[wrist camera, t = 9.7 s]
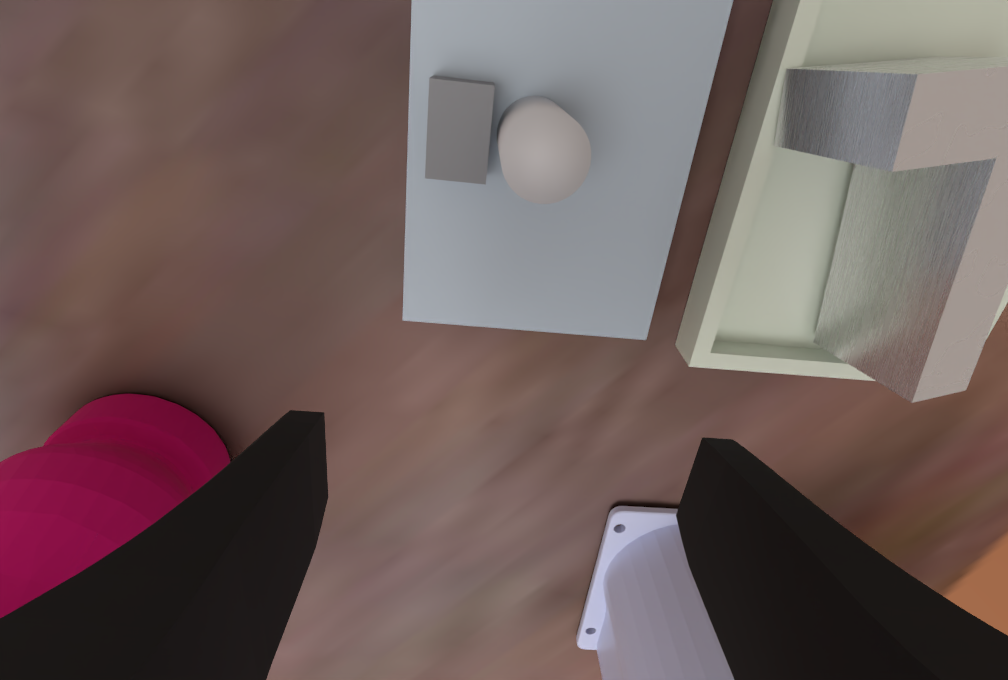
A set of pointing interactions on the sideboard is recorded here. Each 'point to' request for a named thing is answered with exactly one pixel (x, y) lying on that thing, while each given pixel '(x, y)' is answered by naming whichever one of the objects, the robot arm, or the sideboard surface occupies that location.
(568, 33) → the vise block
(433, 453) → the sideboard surface
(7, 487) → the pepper mill
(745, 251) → the tray
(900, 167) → the hook
